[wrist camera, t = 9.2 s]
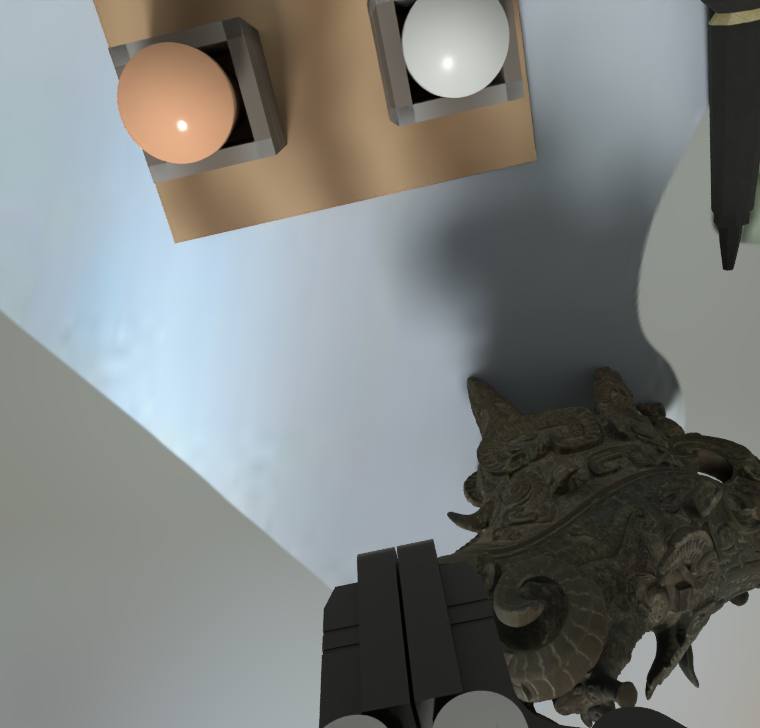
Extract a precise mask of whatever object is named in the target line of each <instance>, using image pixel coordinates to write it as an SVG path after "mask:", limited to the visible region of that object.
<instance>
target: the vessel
mask: <svg viewBox="0 0 760 728" xmlns="http://www.w3.org/2000/svg"><path fill="white" fill-rule="evenodd" d="M467 389H468V394H469V399H470V403H471V409H472V412H473V415H474V417H475V419H476V423H477V425H478V427H479V429H480V433H481V436H482V441H481V443H480V445H479V447H478V449H477V458H478V461H479V468H478V471H477V472H474V473H473V474H472V475H471V476H469V477H468V478H467V480H466V481H465V482H464V495H465V497H466V499H467V501H468V502H471V503H472V505H473V506H476V507H480V509H479V510H478V511H477V512H475V513H473V514H470V515H463V514H458V513H454V512H448V513H447V516H448V517H449V518H450V519H451V520H452V521H453V522H454V523H455V524H456V525H457V526H459V527H461V528H463V529H465V530H469V531H472V532H476V533H478V534H477V535H476V536H475V538H474V539H471V540H470V542H469V543H466V544H465V546H462V547H461V548H460V549H459V550H457V551H456V552H455V553H453V554H451V555H446V556H441V557H438V558H437V559H438V563H439V566H440V565H445V564H450V563H455V562H460V561H465V560H466V561H467V562H468V563H469V564H470V565H471V566H472V567H473V568H474V569H475V570H476V571H477V572H478V573H479V574H480V575H481V576H482V579H483V583H484V586H485V590H486V593H487V597H488V601H489V604H490V607H491V611H492V614H493V619H494V621H495V625H496V628H497V632H498V635H499V639H500V643H501V646H502V650H503V653H504V657H505V660H506V664H507V667H508V671H509V674H510V678H511V681H512V685H513V688H514V690H515V693H516V695H517V697H518V698H519V700H520V701H521V702H522V704H523V705H524V706H525V707H526V708H527V709H528V710H529V711H530V712H532V713H533V714H535V715H536V716H538V717H539V718H542V719H544V720H546V721H548V722H551V723H554V724H558V723H556V722H554V721H553V720H551V719H549V718H547V717H545V716H543V715H541V714H539V713H537V712H536V711H535V708H534V706H533V704H534V702H542V701H546V700H551V699H552V701H553V704H554V708H555V710H556V711H557V712H558V713H559V714H562V715H569V714H572V713H576V714H581V719H582V721H583V722H584V724H585V725H586V726H587V727H589V728H591V727H592V721H593V722H594V721H595V722H596V721H597V720H598V719H599V718H600V717H601V716H603V715H604V714H606V713H607V712H610V711H612V710H614V709H615V704H614V701H615V702H617V703H618V705H619V706H620V707H621V708H622V707H634V706H635V704H636V702H637V690H636V688H635V686H634V685H633V683H632V682H620V681H618V680H617V677H618V675H619V674H621V671H622V670H623V668H624V667H625V666H626V664H628V663H629V662H630V659H631V653H632V650H633V648H635V645H636V642H638V641H639V640H640V639H641V638H642V635H644V634H645V632H650V631H652V632H654V633H655V636H656V640H657V651H656V657H655V659H654V662H653V664H652V666H651V669H650V670H649V673H648V676H647V682H646V689H645V690H646V691H645V692H646V698H647V700H649V699H650V698H651V696H652V694H653V692H654V690H655V688H656V686H657V685H658V684H659V685H661V684H662V682H663V680H664V679H665V678H667V677H668V676H669V674H670V673H671V671H672V670H673V669H674V668H675V667H676V665H677V664H678V663H679V666H680V668H681V669H682V671H683V672H684V674H685V675H686V677H687V678H688V679H689V680H690V681H691V683H693V685H694V686H696V687H697V688H698V687H699V683H698V680H697V678H696V676H695V673H694V667H693V653H692V647H691V643H692V642H693V641H694V640H695V639H696V637H697V636H698V634H699V632H700V631H701V629H702V628H703V626H705V625H706V624H707V622H708V620H709V618H710V616H711V614H714V613H715V612H716V611H718V610H719V609H721V608H722V607H723V605H724V603H726V602H728V601H731V602H732V603H733V604H735V605H737V606H741V605H744V604H745V603H746V602H747V600H748V597H749V594H748V592H747V591H749V590H752V589H754V588H760V460H759V459H758V458H757V457H756V456H754V455H753V454H752V453H751V452H750V451H749V450H748V449H747V448H746V447H744V446H742V445H740V444H737V443H735V442H732V441H729V440H726V439H722V438H717V437H711V436H704V435H701V434H699V433H687V434H685V432H684V430H683V429H682V427H681V426H679V425H678V424H677V423H676V422H675V421H673V420H671V419H668V418H666V417H665V416H666V413H665V408H664V406H663V404H662V403H651V404H639V405H635V404H634V402H633V396H632V394H631V391H629V389H628V388H627V387H626V385H625V384H624V383H623V382H622V379H621V377H620V375H619V374H618V373H617V372H615V371H613V370H611V369H610V368H609V367H605V368H601V369H598V370H597V371H596V374H595V383H594V388H593V392H594V399H595V403H596V407H597V408H595V409H593V410H591V411H590V410H589V409H588V408H587V407H585V406H578V407H566V408H561V409H553V410H547V411H542V412H537V413H534V414H529V415H525V416H523V415H522V414H521V413H520V412H519V411H518V410H517V409H516V408H515V407H514V406H513V405H512V404H511V403H510V402H509V401H508V400H506V398H505V397H504V396H502V395H501V394H500V393H498V392H497V391H496V390H495V389H494V388H493V387H492V386H490V385H488V384H486V383H485V382H483V381H481V380H478V379H476V378H468V380H467ZM638 411H639V412H640V413H641V414H642V415H641V414H639V412H638ZM697 472H702V473H705V474H708V475H710V476H713V477H715V478H717V479H718V480H720V481H722V483H721V482H719V481H717V480H714V479H712V478H710V477H707V476H704V475H699V474H697ZM558 725H559V724H558Z"/></svg>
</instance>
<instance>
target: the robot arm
mask: <svg viewBox="0 0 760 728" xmlns="http://www.w3.org/2000/svg"><path fill="white" fill-rule="evenodd" d="M397 554H398V558H397ZM397 554H396V551H395V548H394V547H392V548H387V549H382V550H377V551H372V552H368V553H363V554H358V556H357V571H358V582H357V583H353V584H348V585H343V586H338V587H335V589H334V590H333V592H332V594H331V596H330V598H329V600H328V602H327V604H326V606H325V608H324V618H323V619H324V620H323V633H324V636H323V643H322V645H323V646H322V651H323V655H322V669H321V694H320V719H319V728H579V727H571V726H563V725H558V724H554V723H551V722H548V721H546V720H544V719H542V718H539V717H538V716H536V715H535V714H533V713H532V712H530V711H529V710H528V709H527V708H526V707H525V706H524V705H523V704H522V702H521V701H520V700H519V698H518V697H517V695H516V693H515V690H514V688H513V685H512V681H511V678H510V674H509V671H508V667H507V664H506V660H505V657H504V653H503V650H502V646H501V643H500V639H499V635H498V632H497V628H496V625H495V621H494V619H493V614H492V611H491V607H490V604H489V601H488V597H487V593H486V590H485V586H484V583H483V579H482V576H481V575H480V574H479V573H478V572H477V571H476V570H475V569H474V568H473V567H472V566H471V565H470V564H469V563H468V562H467V561H466V560H465V561H460V562H455V563H450V564H445V565H440V566H439V563H438V559H437V554H436V550H435V545H434V541H433V539H430V540H426V541H421V542H416V543H411V544H406V545H401V546H397ZM592 728H687V727H685V726H683V725H681V724H680V723H678V722H676V721H675V720H673V719H671V718H669V717H668V716H666V715H664V714H662V713H660V712H657V711H654V710H652V709H648V708H643V707H622V708H618V709H614V710H612V711H610V712H607V713H606V714H604V715H603V716H601V717H600V718H599V719H598V720H597V721H596V722H595V724H594V725H593V727H592Z"/></svg>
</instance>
